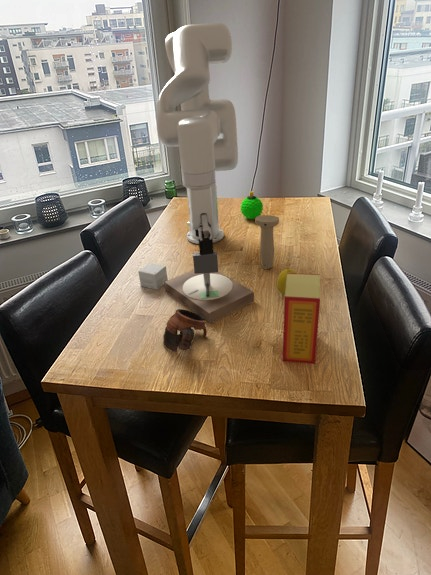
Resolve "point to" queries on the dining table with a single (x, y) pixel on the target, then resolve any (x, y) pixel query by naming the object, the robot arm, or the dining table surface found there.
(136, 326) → the dining table surface
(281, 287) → the lemon
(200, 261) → the grey block with rod
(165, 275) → the small box
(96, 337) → the dining table surface
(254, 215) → the ornament
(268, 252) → the handle
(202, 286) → the dial
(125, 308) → the dining table surface
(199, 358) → the dining table surface
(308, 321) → the baking soda box
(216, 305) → the board
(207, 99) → the robot arm
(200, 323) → the broken clay pot
